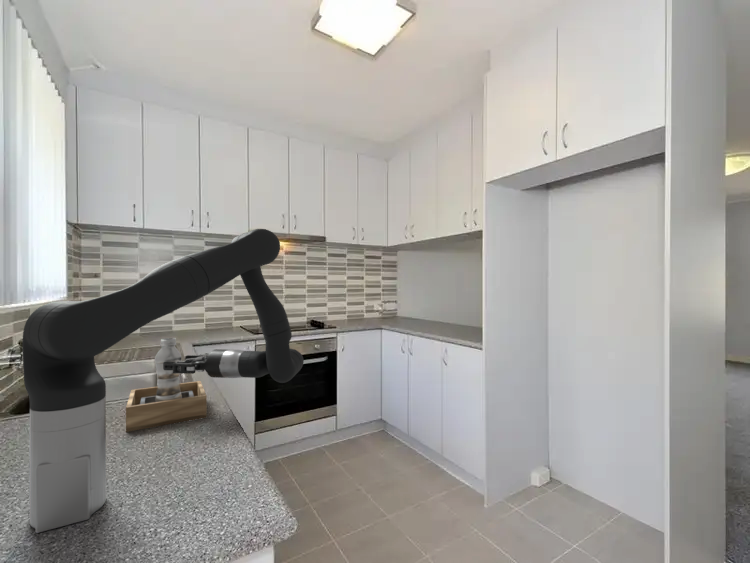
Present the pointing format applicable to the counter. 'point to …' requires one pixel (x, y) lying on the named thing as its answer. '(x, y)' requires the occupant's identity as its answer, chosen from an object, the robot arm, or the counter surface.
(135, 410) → the walled box
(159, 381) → the plastic bottle
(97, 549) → the counter surface
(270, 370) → the robot arm
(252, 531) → the counter surface
